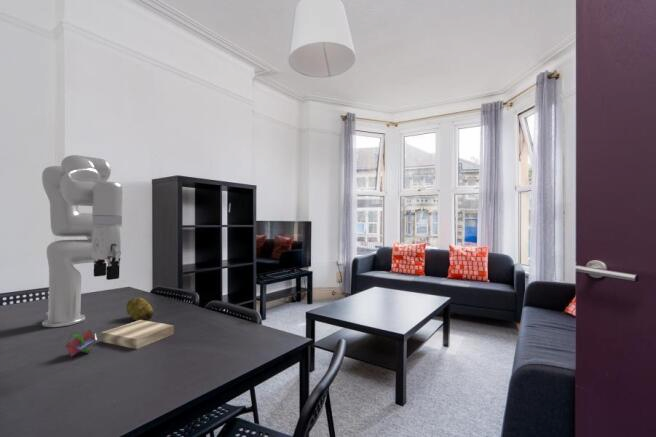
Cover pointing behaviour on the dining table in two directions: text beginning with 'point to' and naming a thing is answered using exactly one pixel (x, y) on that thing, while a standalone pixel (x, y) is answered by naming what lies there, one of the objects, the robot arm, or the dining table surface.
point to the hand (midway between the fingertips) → (106, 277)
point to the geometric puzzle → (81, 343)
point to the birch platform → (137, 334)
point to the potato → (139, 309)
